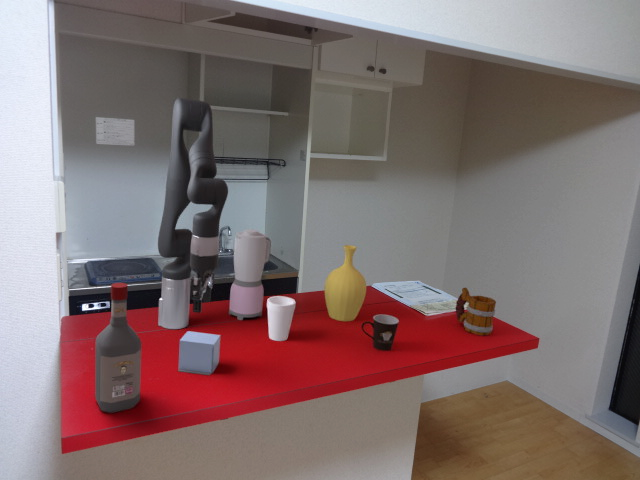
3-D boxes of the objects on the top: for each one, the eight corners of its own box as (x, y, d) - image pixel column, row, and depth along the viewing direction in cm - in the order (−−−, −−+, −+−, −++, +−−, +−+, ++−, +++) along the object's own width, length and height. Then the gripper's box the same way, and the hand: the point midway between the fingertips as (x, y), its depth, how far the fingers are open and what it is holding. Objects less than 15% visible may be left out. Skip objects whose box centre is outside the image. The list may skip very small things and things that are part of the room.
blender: (241, 323, 178) (247, 235, 171) (221, 312, 186) (227, 228, 179) (275, 314, 189) (282, 232, 182) (255, 304, 197) (261, 225, 191)
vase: (369, 316, 197) (378, 248, 191) (350, 327, 184) (358, 254, 178) (335, 305, 206) (342, 239, 200) (313, 315, 192) (320, 245, 186)
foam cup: (287, 344, 164) (291, 307, 161) (260, 340, 166) (263, 303, 163) (294, 334, 173) (298, 298, 170) (269, 329, 175) (272, 294, 172)
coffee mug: (397, 344, 173) (400, 317, 171) (392, 354, 165) (396, 326, 163) (364, 337, 176) (368, 310, 174) (358, 346, 168) (361, 318, 166)
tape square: (178, 371, 140) (178, 370, 140) (188, 357, 149) (188, 356, 149) (209, 375, 139) (209, 374, 139) (218, 361, 148) (218, 360, 148)
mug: (483, 338, 187) (489, 300, 183) (446, 323, 198) (452, 287, 195) (497, 333, 194) (504, 296, 191) (461, 318, 206) (467, 284, 202)
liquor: (142, 406, 121) (145, 289, 115) (102, 416, 116) (102, 293, 110) (131, 389, 128) (134, 277, 122) (93, 397, 123) (93, 281, 117)
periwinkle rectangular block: (178, 369, 141) (179, 340, 139) (186, 358, 148) (187, 331, 146) (212, 373, 140) (213, 344, 139) (218, 363, 147) (220, 335, 145)
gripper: (199, 243, 144) (196, 297, 147) (182, 255, 130) (179, 314, 133) (224, 246, 143) (221, 300, 147) (210, 259, 130) (207, 317, 133)
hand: (201, 306), depth 140 cm, fingers open, 8 cm apart
